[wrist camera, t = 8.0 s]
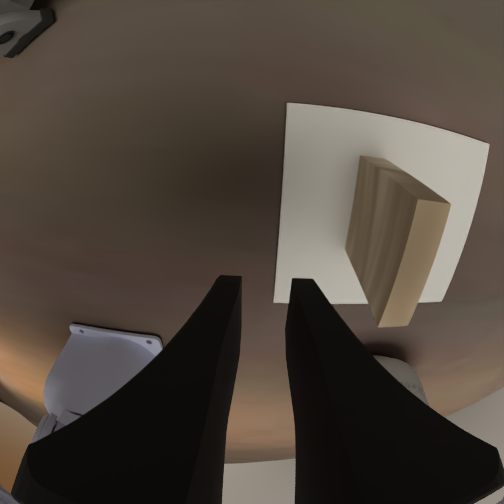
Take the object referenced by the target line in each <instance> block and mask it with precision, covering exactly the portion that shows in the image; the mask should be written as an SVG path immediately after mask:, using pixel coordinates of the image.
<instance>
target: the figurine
mask: <svg viewBox="0 0 504 504" xmlns="http://www.w3.org/2000/svg"><path fill="white" fill-rule="evenodd" d="M33 2H34V0H0V55H4V57H9V58H13V57H14V56H15V55H16V54H17V53H19V52H21V51H22V50H23V47H24V46H26V45H28V44H30V42H31V40H32V39H33V38H34V37H35V36H36V35H39V34H41V33H42V32H43V29H44V28H47V27H49V26H50V25H51V24H52V22H53V21H54V20H53V15H52V11H51V9H39V10H29V9H30V7H31V5H32V4H33Z"/></svg>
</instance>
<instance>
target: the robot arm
mask: <svg viewBox="0 0 504 504" xmlns="http://www.w3.org/2000/svg"><path fill="white" fill-rule="evenodd" d="M241 298H242V276H226V275H220V276H219V277H218V278H217V279H216V281H215V283H214V284H213V286H212V287H211V289H210V291H209V292H208V294H207V295H206V296H205V298H204V299H203V301H202V302H201V304H200V305H199V306H198V308H197V309H196V310H195V312H194V313H193V314H192V315H191V317H190V318H189V319H188V321H187V322H186V323H185V324H184V326H183V327H182V328H181V329H180V330H179V331H178V333H177V334H176V335H175V336H174V337H173V338H172V339H171V341H170V342H169V343H168V344H167V345H166V346H165V347H164V348H163V346H162V342H161V340H160V338H159V337H157V336H151V335H143V334H135V333H128V332H121V331H114V330H108V329H102V328H95V327H90V326H84V325H78V324H71V325H70V327H69V328H70V330H71V333H72V334H71V336H70V337H69V339H68V341H67V342H66V344H65V346H64V348H63V349H62V351H61V353H60V355H59V356H58V358H57V360H56V362H55V364H54V365H53V367H52V369H51V371H50V373H49V375H48V377H47V379H46V383H45V388H44V402H45V406H46V408H47V411H48V413H49V414H50V415H44V416H43V418H42V419H41V421H40V423H39V425H38V428H37V430H36V432H35V435H34V437H33V439H32V442H31V444H29V445H28V447H27V449H26V452H25V454H24V456H23V459H22V461H21V464H20V467H19V470H18V473H17V476H16V479H15V482H14V485H13V488H12V491H11V494H10V493H9V492H7V491H6V490H5V489H4V488H3V486H2V485H1V484H0V504H222V488H223V472H224V458H225V444H226V431H227V424H228V417H229V411H230V406H231V400H232V395H233V389H234V384H235V378H236V373H237V367H238V362H239V355H240V341H241ZM285 337H286V361H287V369H288V376H289V383H290V391H291V398H292V406H293V413H294V422H295V440H296V477H295V479H296V480H295V482H296V484H295V504H474V503H476V502H477V501H479V500H481V499H483V498H485V497H487V496H488V495H490V494H492V493H494V492H495V491H497V490H499V489H500V488H502V487H503V486H504V468H503V465H502V462H501V459H500V455H499V452H498V450H497V448H496V447H494V446H492V445H490V444H488V443H486V442H484V441H483V440H481V439H479V438H477V437H475V436H473V435H471V434H470V433H468V432H466V431H464V430H463V429H461V428H459V427H458V426H456V425H455V424H453V423H452V422H450V421H449V420H447V419H446V418H444V417H443V416H441V415H440V414H439V413H437V412H436V411H435V410H433V409H432V408H430V407H429V406H428V405H427V404H425V403H424V402H423V401H422V400H420V399H419V398H418V397H417V396H415V395H414V394H413V393H412V392H411V391H409V390H408V389H407V388H406V387H405V386H403V385H402V384H401V383H400V382H399V381H398V380H397V379H396V378H395V377H394V376H393V375H392V374H391V373H389V372H388V371H387V370H386V369H385V368H384V367H383V366H382V365H381V364H380V363H379V362H378V361H377V360H376V359H375V357H374V356H373V355H372V354H371V353H370V352H369V351H368V350H367V349H366V347H365V346H364V345H363V344H362V343H361V342H360V341H359V339H358V338H357V337H356V336H355V335H354V333H353V332H352V331H351V330H350V328H349V327H348V326H347V324H346V323H345V322H344V321H343V319H342V318H341V317H340V316H339V314H338V313H337V311H336V310H335V309H334V307H333V306H332V305H331V303H330V302H329V300H328V299H327V298H326V296H325V295H324V293H323V292H322V290H321V289H320V288H319V286H318V285H317V283H316V282H315V281H314V280H313V279H310V278H292V282H291V290H290V297H289V305H288V313H287V320H286V327H285ZM149 340H150V341H149ZM497 504H504V497H503V500H501V501H500V502H498V503H497Z"/></svg>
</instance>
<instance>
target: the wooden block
mask: <svg viewBox="0 0 504 504" xmlns="http://www.w3.org/2000/svg"><path fill="white" fill-rule="evenodd" d="M450 207H451V203H449V202H448V201H447V200H445V199H444V198H443V197H441V196H440V195H439V194H437V193H436V192H434V191H433V190H432V189H430V188H429V187H427V186H426V185H425V184H423V183H422V182H420V181H419V180H417V179H416V178H414V177H413V176H411V175H410V174H408V173H407V172H405V171H404V170H402V169H401V168H399V167H398V166H396V165H394V164H393V163H391V162H390V161H388V160H386V159H383V158H376V157H369V156H362V155H360V158H359V166H358V173H357V180H356V187H355V193H354V200H353V206H352V212H351V217H350V223H349V228H348V234H347V239H346V244H345V251H346V253H347V256H348V258H349V260H350V262H351V264H352V267H353V269H354V271H355V273H356V276H357V278H358V280H359V283H360V285H361V287H362V290H363V292H364V294H365V297H366V299H367V301H368V304H369V306H370V309H371V311H372V314H373V316H374V319H375V321H376V324H377V326H378V327H396V326H408V324H409V322H410V320H411V317H412V315H413V313H414V311H415V308H416V306H417V304H418V301H419V299H420V296H421V294H422V292H423V289H424V287H425V284H426V281H427V279H428V276H429V273H430V271H431V268H432V265H433V262H434V260H435V257H436V254H437V251H438V248H439V245H440V242H441V238H442V235H443V232H444V229H445V225H446V222H447V218H448V215H449V211H450Z"/></svg>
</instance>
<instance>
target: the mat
mask: <svg viewBox="0 0 504 504" xmlns="http://www.w3.org/2000/svg"><path fill="white" fill-rule="evenodd" d="M488 150H489V144H487V143H485V142H482V141H479V140H476V139H473V138H470V137H467V136H464V135H461V134H458V133H454V132H451V131H448V130H444V129H441V128H437V127H433V126H429V125H426V124H422V123H418V122H413V121H409V120H405V119H400V118H396V117H391V116H386V115H381V114H375V113H369V112H364V111H357V110H351V109H344V108H336V107H328V106H320V105H310V104H298V103H287V106H286V127H285V146H284V164H283V180H282V196H281V210H280V225H279V238H278V251H277V264H276V276H275V288H274V303H289V297H290V290H291V282H292V278H310V279H313V280H314V281H315V282H316V283H317V285H318V286H319V288H320V289H321V290H322V292H323V293H324V295H325V296H326V298H327V299H328V300H329V302H330V303H331V304H368V301H367V299H366V297H365V294H364V292H363V290H362V287H361V285H360V283H359V280H358V278H357V276H356V273H355V271H354V269H353V267H352V264H351V262H350V260H349V258H348V256H347V253H346V251H345V244H346V239H347V234H348V228H349V223H350V217H351V212H352V206H353V200H354V193H355V187H356V180H357V173H358V166H359V158H360V155H362V156H369V157H376V158H383V159H386V160H388V161H390V162H391V163H393V164H394V165H396V166H398V167H399V168H401V169H402V170H404V171H405V172H407V173H408V174H410V175H411V176H413V177H414V178H416V179H417V180H419V181H420V182H422V183H423V184H425V185H426V186H427V187H429V188H430V189H432V190H433V191H434V192H436V193H437V194H439V195H440V196H441V197H443V198H444V199H445V200H447V201H448V202H449V203H451V207H450V211H449V215H448V218H447V222H446V225H445V229H444V232H443V235H442V238H441V242H440V245H439V248H438V251H437V254H436V257H435V260H434V262H433V265H432V268H431V271H430V273H429V276H428V279H427V281H426V284H425V287H424V289H423V292H422V294H421V296H420V299H419V301H418V303H419V302H442V300H443V297H444V295H445V293H446V291H447V288H448V286H449V284H450V281H451V279H452V276H453V274H454V271H455V269H456V266H457V264H458V261H459V258H460V255H461V253H462V250H463V247H464V244H465V241H466V238H467V235H468V232H469V229H470V226H471V222H472V219H473V216H474V212H475V209H476V205H477V201H478V197H479V193H480V189H481V185H482V181H483V176H484V172H485V167H486V161H487V156H488Z"/></svg>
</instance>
